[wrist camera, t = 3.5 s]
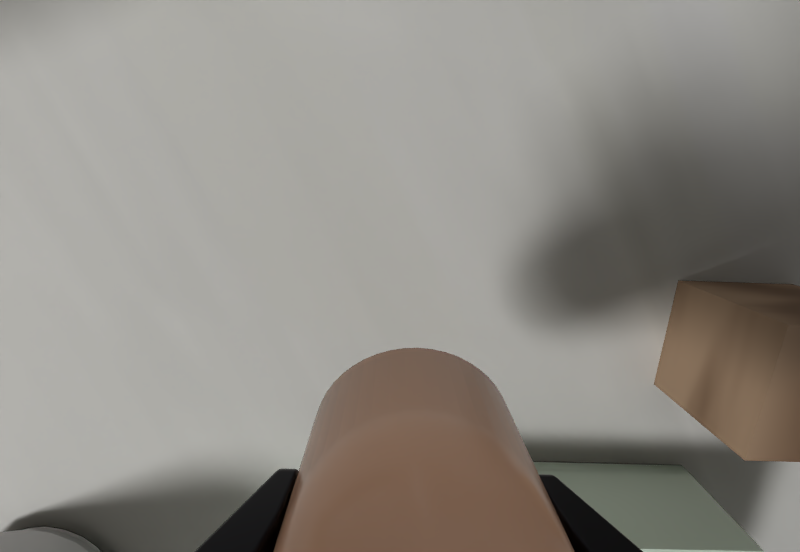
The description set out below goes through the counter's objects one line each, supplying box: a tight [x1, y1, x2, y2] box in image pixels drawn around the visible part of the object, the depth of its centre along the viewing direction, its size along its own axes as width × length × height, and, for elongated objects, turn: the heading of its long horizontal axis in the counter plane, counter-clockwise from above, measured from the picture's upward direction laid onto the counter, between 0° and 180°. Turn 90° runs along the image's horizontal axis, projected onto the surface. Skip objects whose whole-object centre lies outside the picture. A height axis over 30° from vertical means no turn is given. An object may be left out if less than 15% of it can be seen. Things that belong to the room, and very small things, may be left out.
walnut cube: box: [654, 280, 800, 462], centre depth 15 cm, size 5×5×5 cm
